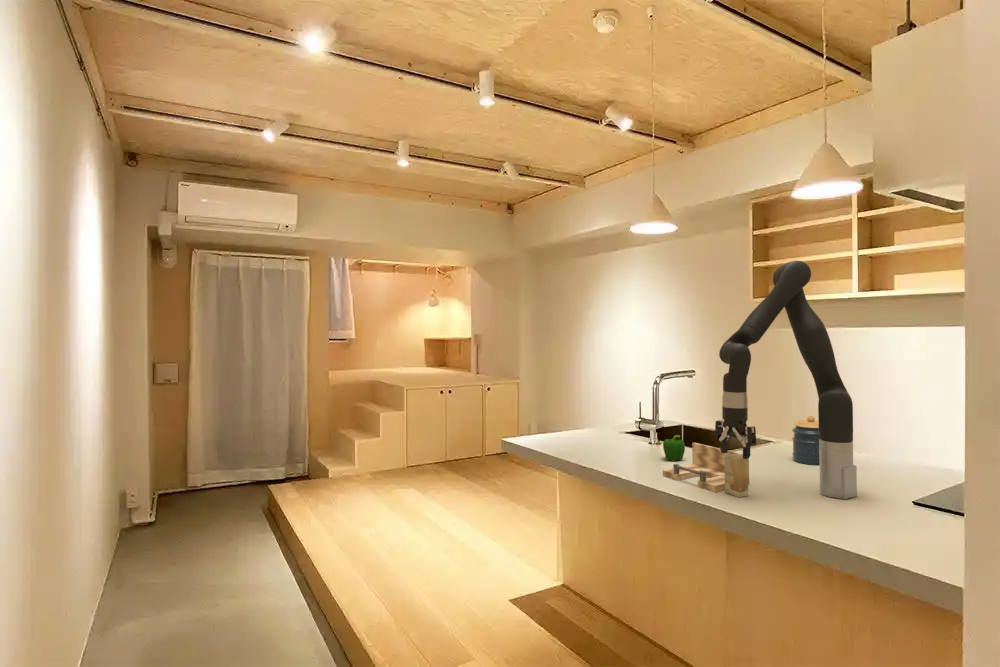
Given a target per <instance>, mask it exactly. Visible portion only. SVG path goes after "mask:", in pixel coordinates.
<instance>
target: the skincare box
mask: <svg viewBox="0 0 1000 667" xmlns="http://www.w3.org/2000/svg"><path fill="white" fill-rule="evenodd" d="M749 459H750V457H749V458H748V459H744V458H743V456H740V455H737V454H730V455H725V490H724V493H727V494H729V495H731V496H735V497H737V498H742V497H746V496H749V485H748V463H749V464H750V460H749Z"/></svg>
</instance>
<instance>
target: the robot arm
mask: <svg viewBox="0 0 1000 667" xmlns="http://www.w3.org/2000/svg"><path fill="white" fill-rule="evenodd" d="M811 277H812V270H811V268H810V266H809V265H808V263H806V262H805V261H803V260H791V261H788V262H786V263H784V264H782V265H781V266H778V267H777V268H776V269H775V271H773V275H772V283H773V288H772V289H771V291H770V292H769V293H768V294H767V295H766V297H765V298H764V299H763V300H762V301H760V303H759V304H758V305H757V306H756V307H755V308H754V309H753V310H752V311H751V313H749V315H747V317H746V319H745V320H744V322H743V323H742V325H740V327H739V328H738V330H736V331H735V332H734V333H733V334H732V335H730V336H729V337H728V339H726V340H725V341H724V343H723V344H722V345H721V347H720V349H719V354H718V356H719V359H720V361H721V362H722V363H723V364H725V365H729V367H728V372H726V373H724V375H723V378H722V398H721V402H722V403H721V404H722V406H721V410H722V411H721V412H722V413H721V414H722V415H721V417H722V419H718V420H715V422H714V425H715V428H714V438H715V439H717V440H719V442H720V444H719V445H720V447H719V448H720V450H721V453H727V452H728V448H729V447H728V446H729V445H728V444H729V442H728V440H729V439H730V438H731V437H733V438H735V439H737V440H738V441H739V442H740V443H741V445H742V454H743V458H744V459H748V458H749V459H750V457H751V448H752V447H754V446H756V445H757V432H756V427H755V426H754V425H753V426H748V425H747V422H748V417H749V416H748V408H749V407H748V406H749V405H748V404H749V403H748V402H749V400H748V392H747V391H748V390H747V388H748V387H747V386H748V385H747V384H748V382H747V381H748V380H747V378H748V375H749V372H750V367H751V362H752V354H751V351H750V348H749V347H750V346H751V345H754V344H756V343H758V342H760V340H761V338H763V336H764V335H765V333H766V332H767V331H768V330H769V328H770V327H771V325H772V324H773V322H774V321H775V320H776V318H777V317H778V316H779V314H780V313H781V312H782V310H784V309H785V312H786V315H787V318H788V321H789V323H790V326H791V329H792V332H793V335H794V339H795V342H796V344H797V347H798V350H799V352H800V354H801V357H802V359H803V361H804V363H805V364H806V366H807V368H808V370H809V372H810V374H811V375H812V378H813V381H814V383H815V388H816V391H817V397H818V403H817V404H818V405H817V407H818V408H817V410H818V413H817V415H818V421H819V462H820V465H819V492H820V494H821V495H823V496H825V497H829V498H833V499H836V498H837V499H842V500H848V499H851V498H855V497H858V483H857V482H858V476H857V475H858V474H857V472H858V471H857V469H858V468H857V465H855V464H854V404H853V400H852V399H853V398H852V397H851V395H850V393H849V392H848V390H847V388H846V385H845V384H844V382H843V380H842V378H841V376H840V373H839V371H838V367H837V363H836V358H835V352H834V349H833V345H832V341H831V338H830V336H829V333H828V331H827V328H826V326H825V324H824V322H823V321H822V319H821V318H820V317H819V315H817V313H816V312H815V311H814V310H813V308H812V307H811V306H810V303H809V302H808V300H807V297H806V294H805V291H804V287H806V285H807V284H809V283H810V280H811Z"/></svg>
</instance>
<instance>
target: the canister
mask: <svg viewBox="0 0 1000 667" xmlns="http://www.w3.org/2000/svg"><path fill="white" fill-rule="evenodd" d="M794 426H795V427H794V428H792V429H791V430H792V432H793V437H792V457H793V461H795V462H797V463H799V464H803V465H811V466H812V465H815V466H817V465H818V466H820V462H819V420H816V419H815V416H814V415H808V416H807V418H806V419H801V420H798V421H797V422H795V423H794Z"/></svg>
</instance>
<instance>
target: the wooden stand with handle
mask: <svg viewBox="0 0 1000 667" xmlns="http://www.w3.org/2000/svg"><path fill="white" fill-rule="evenodd" d="M691 447H692V448H691V450H692V451H691V454H692V464H687V465H683V466H682V465H680V464H679V463H674V464H673V466H672V467H671V468H667V469H662V476H663V477H667V478H670V479H672V480H676V481H681V480H683V481H684V480H687V479H692V478H696V477H699V480H697V487H699V488H701V489H705V490H707V491H711V492H714V493H717V492H722V491H725V455H730V454H737V455H740V456H743V452H742V453H741V452H738V451H733V450H730V449H729V450H728V452H727V453H721V450H720V447H715V446H711V445H706V444H702V443H698V442H692V444H691ZM749 485H750V462H749V463H748V486H749Z"/></svg>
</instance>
